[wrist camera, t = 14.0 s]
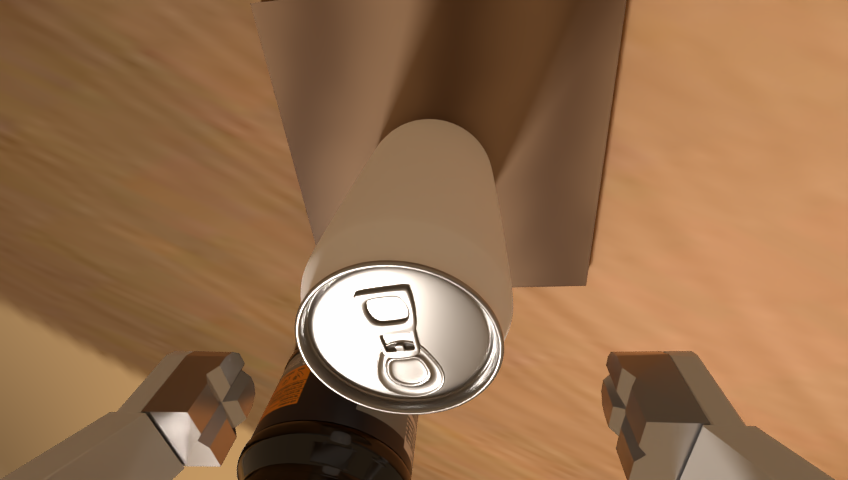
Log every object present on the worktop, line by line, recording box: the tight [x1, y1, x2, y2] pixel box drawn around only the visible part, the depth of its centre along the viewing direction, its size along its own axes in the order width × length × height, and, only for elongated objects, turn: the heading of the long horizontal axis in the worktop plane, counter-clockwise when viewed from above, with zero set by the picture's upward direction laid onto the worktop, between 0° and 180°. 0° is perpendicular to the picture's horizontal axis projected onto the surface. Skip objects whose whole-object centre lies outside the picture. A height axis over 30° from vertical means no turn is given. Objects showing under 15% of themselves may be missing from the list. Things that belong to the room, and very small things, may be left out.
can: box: [295, 119, 513, 415], centre depth 15 cm, size 6×6×12 cm
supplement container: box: [237, 348, 418, 480], centre depth 25 cm, size 10×10×12 cm
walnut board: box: [250, 0, 627, 287], centre depth 21 cm, size 16×16×1 cm
